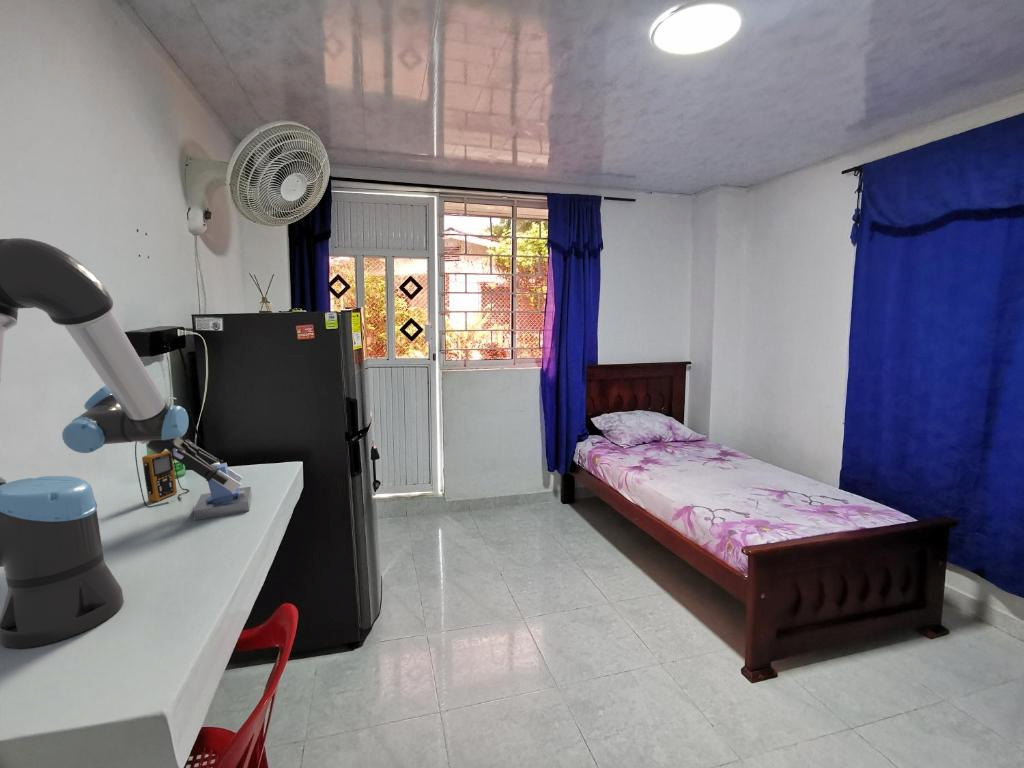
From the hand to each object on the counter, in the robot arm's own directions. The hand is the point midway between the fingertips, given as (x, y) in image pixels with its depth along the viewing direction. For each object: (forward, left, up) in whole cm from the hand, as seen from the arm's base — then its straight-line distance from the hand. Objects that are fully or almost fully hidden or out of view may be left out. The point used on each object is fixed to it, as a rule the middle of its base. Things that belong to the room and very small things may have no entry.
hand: (238, 485), depth 133 cm
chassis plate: (0, +4, -5) cm, 7 cm away
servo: (0, +3, -5) cm, 6 cm away
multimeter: (+17, +18, -6) cm, 25 cm away
